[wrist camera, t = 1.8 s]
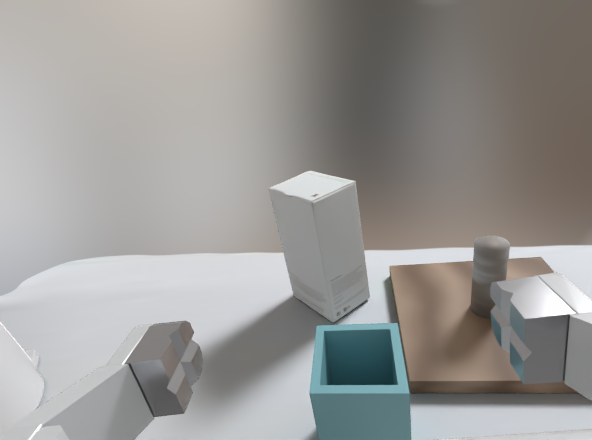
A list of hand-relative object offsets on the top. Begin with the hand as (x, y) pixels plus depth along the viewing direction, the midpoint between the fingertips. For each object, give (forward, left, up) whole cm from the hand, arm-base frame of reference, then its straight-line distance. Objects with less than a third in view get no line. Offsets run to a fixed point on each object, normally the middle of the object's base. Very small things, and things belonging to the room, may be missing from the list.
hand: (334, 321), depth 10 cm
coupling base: (+13, +25, -23) cm, 36 cm away
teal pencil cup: (0, +11, -23) cm, 25 cm away
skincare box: (-4, +30, -23) cm, 38 cm away
